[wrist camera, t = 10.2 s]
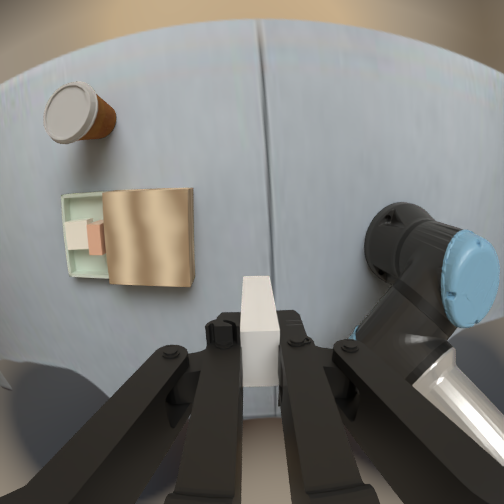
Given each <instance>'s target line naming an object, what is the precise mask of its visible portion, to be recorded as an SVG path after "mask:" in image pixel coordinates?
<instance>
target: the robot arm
mask: <svg viewBox="0 0 504 504" xmlns="http://www.w3.org/2000/svg"><path fill="white" fill-rule="evenodd" d="M365 255H366V259H367V262H368V265H369V267H370V268H371V270H372V271H373V272H374V273H375V274H376V275H377V276H378V277H379V278H381V279H382V280H383V281H385V282H387V283H389V284H393V285H392V287H391V288H390V289H389V290H388V292H387V293H386V294H385V295H384V296H383V298H382V299H381V300H380V301H379V303H378V304H377V305H376V306H375V307H374V308H373V310H372V311H371V312H370V313H369V314H368V315H367V317H366V318H365V319H364V320H363V321H362V322H361V323H360V325H357V326H356V328H355V329H354V332H353V333H352V335H351V336H350V337H349V338H348V339H344V340H340V341H337V342H336V343H335V344H334V347H333V349H328V348H321V347H318V346H315V344H314V341H313V340H312V339H311V338H310V337H308V336H307V335H306V332H305V329H304V326H303V323H302V320H301V318H300V315H299V314H298V313H297V312H296V311H294V310H280V311H276V308H275V303H274V297H273V292H272V287H271V282H270V277H269V276H243V289H242V305H241V312H224V313H221V314H220V315H219V316H218V317H217V319H216V320H212V321H210V322H209V323H207V324H206V326H205V330H206V340H207V347H206V349H205V350H203V351H200V352H196V353H190V354H188V352H187V349H186V348H184V347H182V346H179V345H166V346H163V347H161V348H159V349H158V350H156V351H155V352H154V353H153V354H152V355H151V356H150V357H149V358H148V359H147V360H146V361H145V363H144V364H143V365H142V366H141V367H140V368H139V369H138V370H137V371H136V372H135V373H134V374H133V375H132V376H131V377H130V378H129V379H128V380H127V381H126V382H125V383H124V384H123V385H122V386H121V387H120V388H119V389H118V390H117V391H116V392H115V394H114V395H113V396H112V397H111V398H110V399H109V400H108V401H107V402H106V403H105V404H104V405H103V406H102V407H101V408H100V409H99V410H98V411H97V412H96V413H95V414H94V415H93V416H92V417H91V418H90V420H88V421H87V422H86V424H85V425H84V426H83V427H82V428H81V429H80V430H79V431H78V432H77V433H76V434H75V435H74V436H73V437H72V438H71V439H70V440H69V441H68V442H67V443H66V444H65V445H64V446H63V447H62V448H61V450H59V451H58V452H57V454H56V455H55V456H54V457H53V458H52V459H51V460H50V461H49V462H48V463H47V464H46V465H45V466H44V467H43V468H42V469H41V470H40V471H39V472H38V473H37V474H36V475H35V476H34V477H33V478H32V479H31V480H30V481H29V483H28V484H27V485H26V486H24V487H22V488H20V489H17V490H15V491H13V492H11V493H9V494H7V495H4V496H2V497H0V504H135V502H136V501H137V499H138V498H139V496H140V495H141V493H142V492H143V490H144V488H145V487H146V485H147V484H148V482H149V480H150V479H151V477H152V476H153V474H154V473H155V471H156V469H157V468H158V466H159V465H160V463H161V461H162V460H163V458H164V457H165V455H166V454H167V452H168V450H169V449H170V447H171V445H172V444H173V442H174V441H175V439H176V437H177V436H178V434H179V432H180V431H181V429H182V428H183V426H184V424H185V423H186V421H187V419H188V418H189V416H190V414H191V416H190V421H189V426H188V430H187V435H186V439H185V443H184V448H183V453H182V458H181V463H180V467H179V472H178V477H177V481H176V486H175V490H174V492H173V493H170V494H168V495H167V497H166V499H165V502H164V504H241V480H242V479H241V478H242V426H243V425H242V424H243V387H260V386H278V382H279V399H278V406H280V408H281V416H282V424H283V432H284V440H285V449H286V457H287V465H288V473H289V483H290V492H291V500H292V504H380V502H379V499H378V497H377V494H376V492H375V490H374V488H373V487H372V486H371V485H370V484H364V483H363V481H362V479H361V476H360V473H359V470H358V467H357V464H356V461H355V458H354V455H353V452H352V449H351V446H350V443H349V440H348V437H347V434H346V431H345V428H344V426H343V424H344V425H345V426H346V428H347V429H348V431H349V432H350V433H351V435H352V436H353V437H354V439H355V440H356V441H357V443H358V444H359V445H360V447H361V448H362V450H363V451H364V452H365V453H366V455H367V456H368V457H369V459H370V460H371V461H372V463H373V464H374V465H375V467H376V468H377V469H378V471H379V472H380V473H381V475H382V476H383V477H384V479H385V480H386V481H387V482H388V484H389V485H390V486H391V488H392V489H393V490H394V492H395V493H396V494H397V495H398V497H399V498H400V499H401V500H402V502H403V503H404V504H504V415H503V414H502V413H501V412H500V411H499V410H498V409H497V408H496V407H495V406H494V404H493V403H492V402H491V401H490V400H489V399H488V398H487V397H486V396H485V395H484V394H483V393H482V392H481V391H480V390H479V389H478V388H477V387H476V386H475V385H474V384H473V383H472V382H471V381H470V379H468V377H467V376H466V375H465V374H464V373H463V372H462V371H461V370H460V369H459V368H458V367H457V365H456V363H455V362H456V358H455V357H456V350H455V348H454V347H453V346H452V345H451V344H450V343H449V342H448V341H447V340H448V339H449V337H450V336H451V335H452V334H453V332H454V331H455V330H456V329H457V327H459V328H470V327H472V326H474V323H475V324H477V323H479V322H480V321H481V320H482V319H483V318H484V317H485V316H486V314H487V313H488V312H489V310H490V308H491V306H492V304H493V302H494V300H495V297H496V294H497V291H498V286H499V274H500V266H499V260H498V256H497V254H496V251H495V249H494V248H493V246H492V245H491V244H490V242H488V241H487V240H486V239H484V238H482V237H480V236H478V235H476V234H474V233H473V232H472V231H469V230H463V229H460V228H457V227H454V226H450V225H447V224H444V223H441V222H437V221H435V220H434V219H433V218H432V217H431V216H430V215H429V213H428V212H427V211H425V210H424V209H423V208H421V207H419V206H417V205H415V204H411V203H406V202H398V203H393V204H391V205H388V206H387V207H385V208H383V209H382V210H381V211H380V212H379V213H378V214H377V215H376V216H375V217H374V219H373V220H372V222H371V224H370V226H369V228H368V231H367V234H366V238H365Z"/></svg>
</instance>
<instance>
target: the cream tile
mask: <svg viewBox="0 0 504 504" xmlns="http://www.w3.org/2000/svg"><path fill="white" fill-rule="evenodd" d="M90 223H93V218H86V219H76V220H70V221H67V222H64V225H65V233H66V240H67V247H68V250H77V249H89V247H88V237H87V226H86V225H88V224H90Z"/></svg>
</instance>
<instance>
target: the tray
mask: <svg viewBox="0 0 504 504" xmlns="http://www.w3.org/2000/svg"><path fill="white" fill-rule="evenodd" d="M103 192H109V191H99V192H85V193H73V194H65V195H61V205H62V220H63V232H64V241H65V250H66V258H67V265H68V272H69V277H86V278H107V279H109V274H108V266H107V257H106V253H105V254H103V255H89V249H77V250H68V247H67V240H66V233H65V225H64V222H67V221H70V220H76V219H86V218H93V222H95V221H98V220H103V202H102V193H103Z"/></svg>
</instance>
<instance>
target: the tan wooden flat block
mask: <svg viewBox="0 0 504 504" xmlns="http://www.w3.org/2000/svg"><path fill="white" fill-rule="evenodd" d="M102 202H103V221H104V235H105V247H106V257H107V266H108V274H109V282H110V284H122V285H145V286H174V287H191V285H192V282H193V280H194V278H195V260H194V219H193V188H161V189H135V190H115V191H109V192H103V193H102Z"/></svg>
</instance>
